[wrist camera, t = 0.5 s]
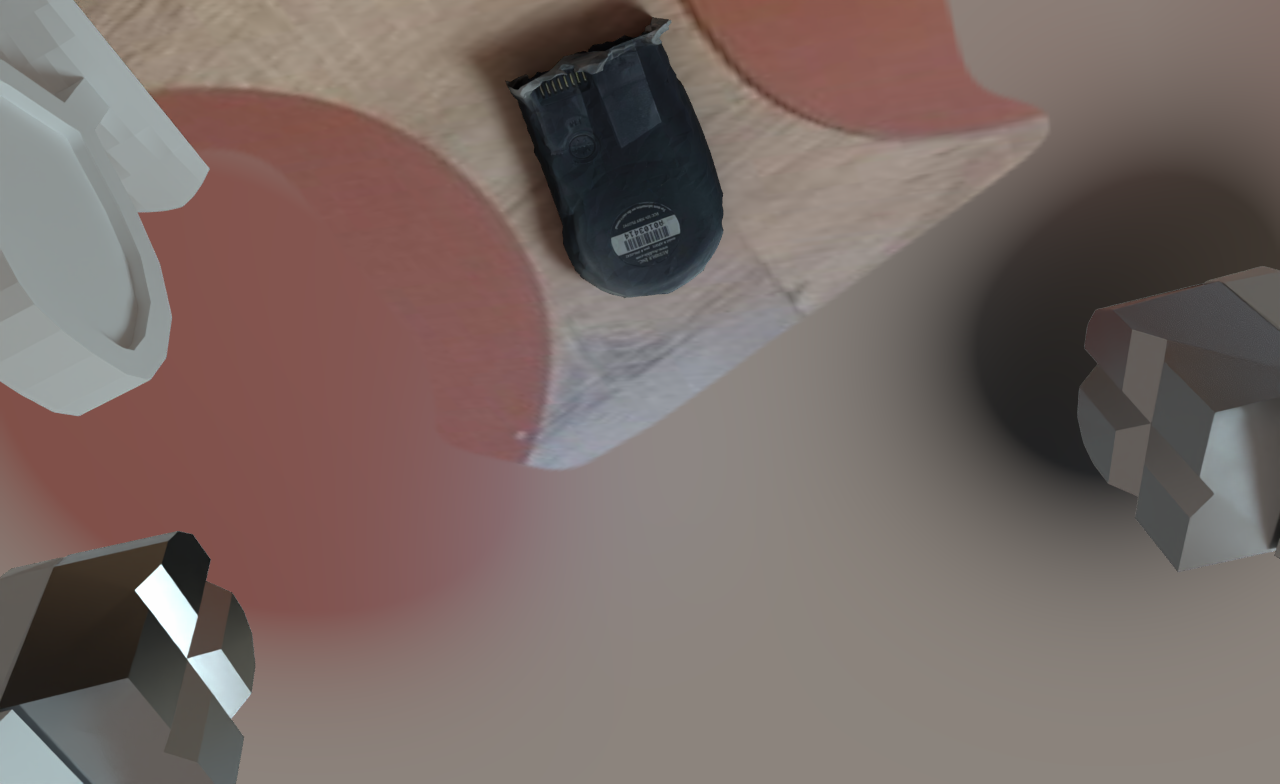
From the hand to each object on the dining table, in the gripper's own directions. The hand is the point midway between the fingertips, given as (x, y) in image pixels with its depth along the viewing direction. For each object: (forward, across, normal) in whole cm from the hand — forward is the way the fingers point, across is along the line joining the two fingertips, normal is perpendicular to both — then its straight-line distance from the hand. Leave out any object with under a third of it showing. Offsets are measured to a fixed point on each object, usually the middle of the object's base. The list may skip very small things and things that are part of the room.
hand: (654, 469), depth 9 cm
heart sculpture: (+45, +22, +9) cm, 51 cm away
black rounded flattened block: (+46, -3, +19) cm, 49 cm away
